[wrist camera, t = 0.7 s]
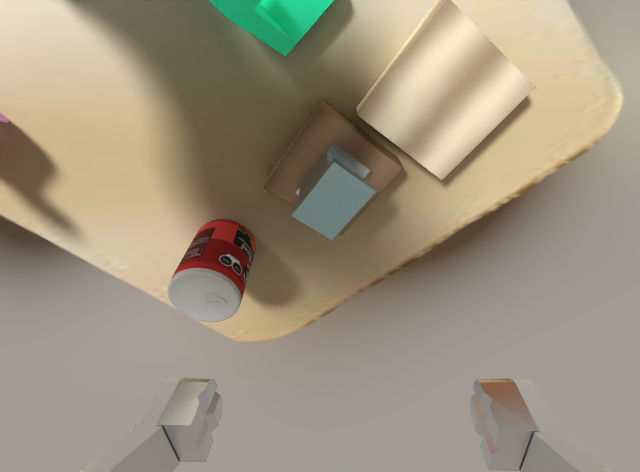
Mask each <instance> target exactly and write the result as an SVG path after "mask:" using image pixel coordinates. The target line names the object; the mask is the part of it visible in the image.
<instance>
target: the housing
mask: <svg viewBox="0 0 640 472" xmlns="http://www.w3.org/2000/svg"><path fill="white" fill-rule="evenodd" d="M370 171H371V170H370V167H369V166H368V165H366V164H365V163H364V162H362V161H361V160H359V159H358V158H357V157H355V156H354V155H353V154H351V153H350V152H348V151H347V150H346V149H344V148H343V147H342V146H340V145H339V144H337V143H336V142H335V141H332V142H331V143H330V145H329V146H328V147H327V149H326V150H325V151H324V153H323V154H322V155H321V157H320V158H319V159H318V161H317V162H316V163H315V165H314V166H313V167H312V168H311V170H310V171H309V172H308V174H307V175H306V176H305V178H304V179H303V180H302V182H301V183H300V184H299V186H298V187H297V188H296V191H295V193H296V194H297V195H299V198H298V204H297V206H296V207H295V208H294V209H293V211H292V217H294V218H295V219H297V220H299V221H300V222H302V223H304V224H305V225H307V226H308V227H310V228H312V229H313V230H315V231H317V232H318V233H320V234H322V235H323V236H325V237H326V238H328V239H330V240H331V241H332V240H333V239H334V238H335V236H336V235H337V234H338V233H339V232H340V231H341V230H342V229H343V228H344V227H345V225H346V224H347V223H348V222H349V221H350V220H351V219H352V218H353V217H354V216H355V214H356V213H357V212H358V211H359V210H360V209H361V208H362V207H363V206H364V205H365V203H366V202H367V201H368V200H369V199H370V198H371V197H372V196H373V195H374V194H375V192H376V189H375V187H374V186H373V185H371V184H370V183H368V182H367V181H366V180H365V176H366V175H367V174H368V173H369V172H370Z"/></svg>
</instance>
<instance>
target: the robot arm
mask: <svg viewBox="0 0 640 472" xmlns="http://www.w3.org/2000/svg"><path fill="white" fill-rule="evenodd" d="M216 388H217V385H216V382H215V380H214V379H196V378H194V379H193V378H168V379H167V380H166V381H164V383H163V385H162V386H161V388H160V390H159V392H158V394H157V396H156V397H155V399H154V401H153V403H152V405H151V406H150V408H149V410H148V412H147V414H146V416H145V418H144V419H143V421H142V423H141V425H140V426H139V425H137V426H135V427H133V428H132V429H131V430H130V431H128V432H127V433H126V434H125V435H123V436H122V437H121V438H120V439H119V440H117V441H116V442H115V443H113V444H112V445H111V446H110V447H109V448H107V449H106V450H105V451H104V452H102V453H101V454H100V455H99V456H97V457H96V458H95V459H94V460H93V461H92V462H90V463H89V464H88V465H86V466H85V467H84V468H83V469H82V470H80V471H79V472H172V471H173V470H174V469H175V468H176V467H177V466H178V465H179V462H206V460H207V457H208V454H209V451H210V449H211V445H212V443H213V437H212V434H211V432H212V431H213V430H214V429H215V428H216V427H217V426H218V425H219V422H220V418H221V413H222V399H221V396H220V395H219V394H218V393H217V392H215V390H216ZM473 388H474V391H475V394H474V395H473V396H472V397H471V402H470V410H471V417H472V422H473V425H474V428H475V430H476V431H477V432H478V433H479V434H480V435H481V436H482V440H481V444H480V446H481V449H482V452H483V455H484V458H485V461H486V464H487V467H488V469H491V470H509V471H520V472H615V471H614V470H613V469H612V468H610V467H609V466H608V465H607V464H605V463H604V462H603V461H602V460H600V459H599V458H598V457H597V456H595V455H594V454H593V453H591V452H590V451H589V450H588V449H586V448H585V447H584V446H583V445H581V444H580V443H579V442H578V441H576V440H575V439H574V438H573V437H571V436H570V435H569V434H567V433H561V432H560V430H559V428H558V427H557V425H556V423H555V421H554V419H553V417H552V416H551V414H550V412H549V410H548V408H547V407H546V405H545V403H544V401H543V400H542V398H541V396H540V394H539V392H538V390H537V389H536V387H535V385H534V384H533V382H532V381H531V380H530V379H476V380H475V381H474V386H473Z"/></svg>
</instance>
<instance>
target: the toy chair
mask: <svg viewBox="0 0 640 472" xmlns="http://www.w3.org/2000/svg"><path fill="white" fill-rule="evenodd" d="M0 122H4V123H9V120H8V119H6V118H5V117H4V116H2V115H1V114H0Z"/></svg>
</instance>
